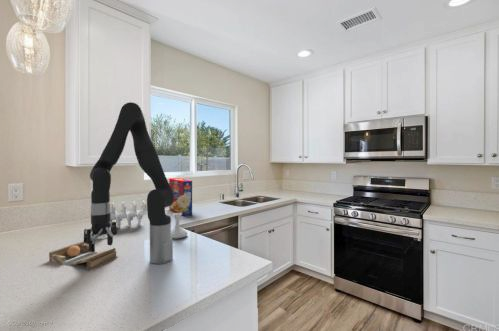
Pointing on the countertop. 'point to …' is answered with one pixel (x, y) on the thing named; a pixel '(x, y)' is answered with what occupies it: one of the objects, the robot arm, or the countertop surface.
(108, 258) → the ramp
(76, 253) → the ball
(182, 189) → the cereal box
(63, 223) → the countertop surface
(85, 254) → the mat
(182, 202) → the flower in vase
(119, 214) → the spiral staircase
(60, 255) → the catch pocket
